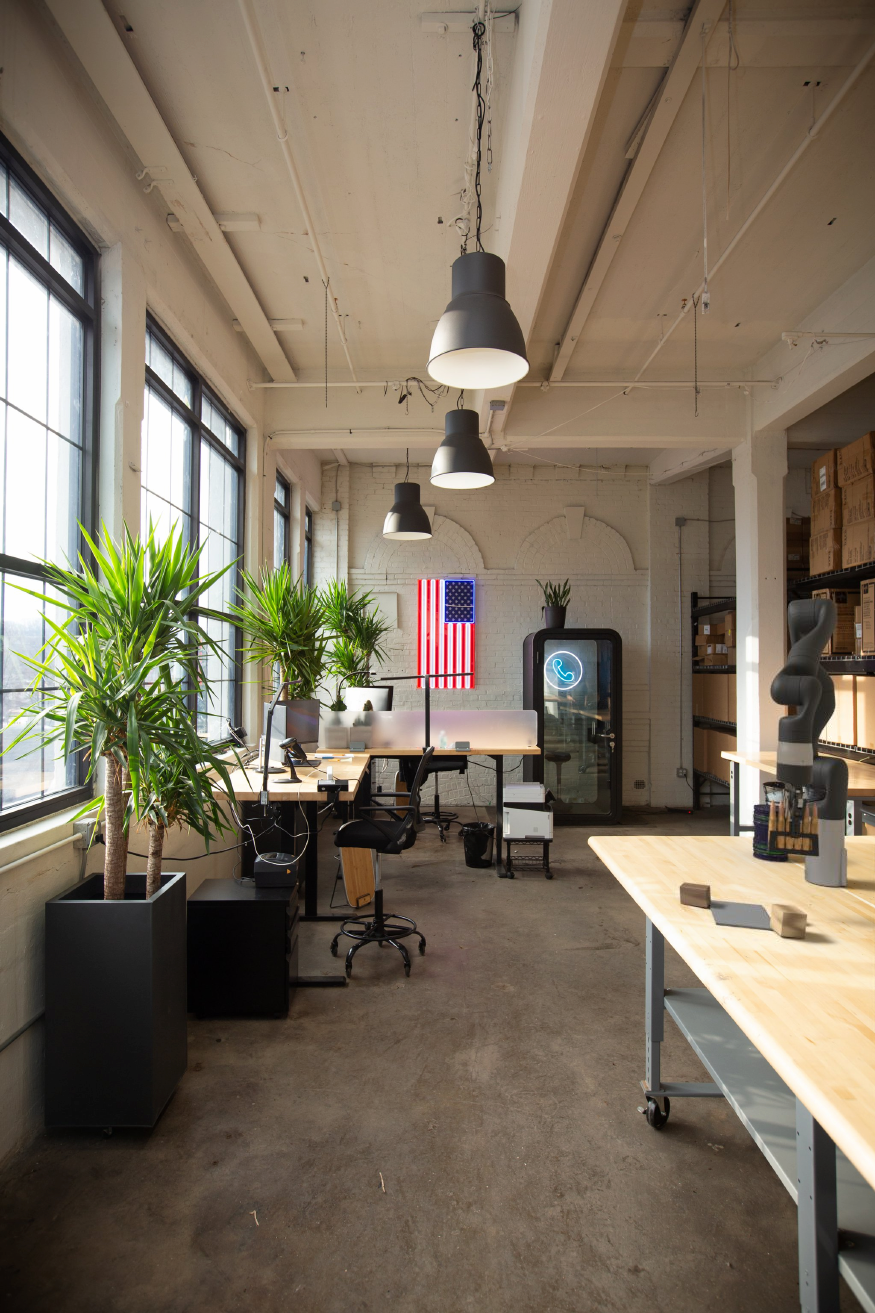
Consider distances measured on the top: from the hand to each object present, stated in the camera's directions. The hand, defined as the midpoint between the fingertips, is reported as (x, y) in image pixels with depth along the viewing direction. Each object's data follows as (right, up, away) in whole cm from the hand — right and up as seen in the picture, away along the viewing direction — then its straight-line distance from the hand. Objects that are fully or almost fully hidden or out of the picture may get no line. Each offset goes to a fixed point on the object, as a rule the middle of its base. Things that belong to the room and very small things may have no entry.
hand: (793, 836), depth 163 cm
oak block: (-8, -17, -14) cm, 23 cm away
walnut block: (-21, -17, +4) cm, 27 cm away
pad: (-14, -17, -3) cm, 22 cm away
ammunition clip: (0, -4, 0) cm, 4 cm away
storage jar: (+17, -19, +48) cm, 54 cm away
